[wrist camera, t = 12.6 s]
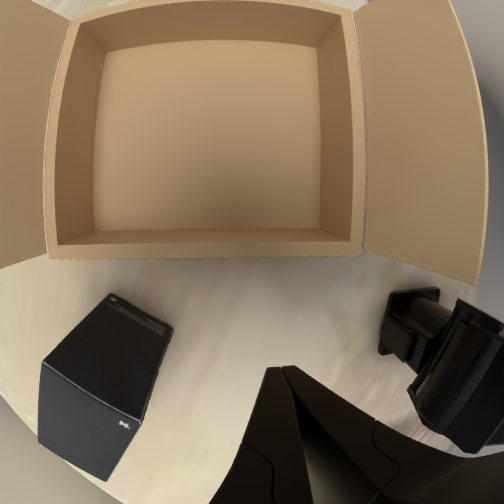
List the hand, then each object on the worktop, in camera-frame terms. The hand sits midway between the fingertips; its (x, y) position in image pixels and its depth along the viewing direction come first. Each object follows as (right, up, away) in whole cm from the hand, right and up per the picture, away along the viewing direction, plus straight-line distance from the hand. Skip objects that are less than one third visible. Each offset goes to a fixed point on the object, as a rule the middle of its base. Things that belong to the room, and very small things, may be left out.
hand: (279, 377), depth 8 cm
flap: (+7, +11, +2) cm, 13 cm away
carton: (-4, +12, +10) cm, 17 cm away
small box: (-12, -5, +14) cm, 19 cm away
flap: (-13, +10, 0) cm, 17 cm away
